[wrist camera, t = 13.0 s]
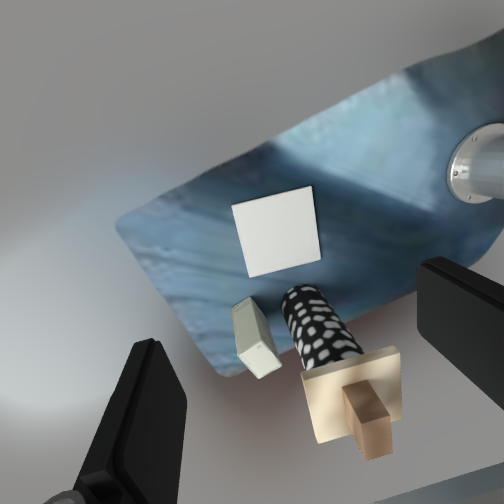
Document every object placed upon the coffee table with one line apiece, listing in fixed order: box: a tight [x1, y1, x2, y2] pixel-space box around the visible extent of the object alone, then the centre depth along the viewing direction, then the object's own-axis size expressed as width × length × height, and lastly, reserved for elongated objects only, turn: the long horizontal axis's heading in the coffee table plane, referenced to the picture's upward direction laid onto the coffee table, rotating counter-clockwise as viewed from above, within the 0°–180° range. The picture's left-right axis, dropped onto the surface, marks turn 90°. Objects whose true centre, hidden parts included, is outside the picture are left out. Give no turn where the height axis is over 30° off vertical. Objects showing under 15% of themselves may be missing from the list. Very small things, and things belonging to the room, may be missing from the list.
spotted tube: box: [281, 284, 365, 371], centre depth 42 cm, size 8×8×20 cm
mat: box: [231, 186, 321, 278], centre depth 45 cm, size 13×13×1 cm
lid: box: [301, 346, 402, 461], centre depth 30 cm, size 11×11×6 cm
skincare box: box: [231, 297, 282, 379], centre depth 45 cm, size 6×4×12 cm
